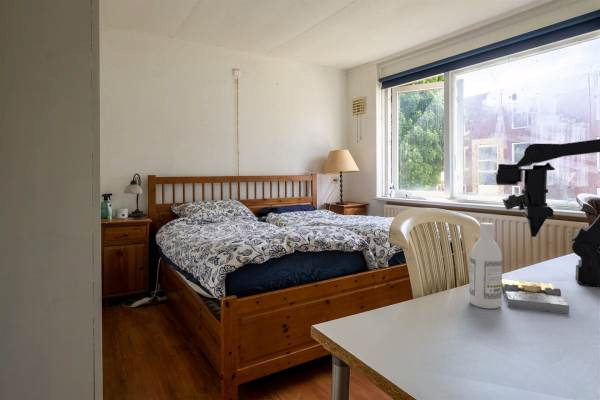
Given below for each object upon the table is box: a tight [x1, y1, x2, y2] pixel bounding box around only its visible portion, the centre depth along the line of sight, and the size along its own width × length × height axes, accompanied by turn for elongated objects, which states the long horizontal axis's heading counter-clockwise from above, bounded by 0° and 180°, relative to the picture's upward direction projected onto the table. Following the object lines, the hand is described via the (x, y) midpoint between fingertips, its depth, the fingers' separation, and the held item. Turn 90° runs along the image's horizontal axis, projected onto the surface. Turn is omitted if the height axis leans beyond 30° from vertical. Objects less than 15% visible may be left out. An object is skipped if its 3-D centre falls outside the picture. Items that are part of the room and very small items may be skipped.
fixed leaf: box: [503, 284, 570, 315], centre depth 89 cm, size 12×9×3 cm
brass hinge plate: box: [502, 279, 556, 294], centre depth 96 cm, size 12×9×3 cm
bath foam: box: [468, 222, 503, 310], centre depth 89 cm, size 7×7×20 cm
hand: (533, 236), depth 112 cm, fingers closed
